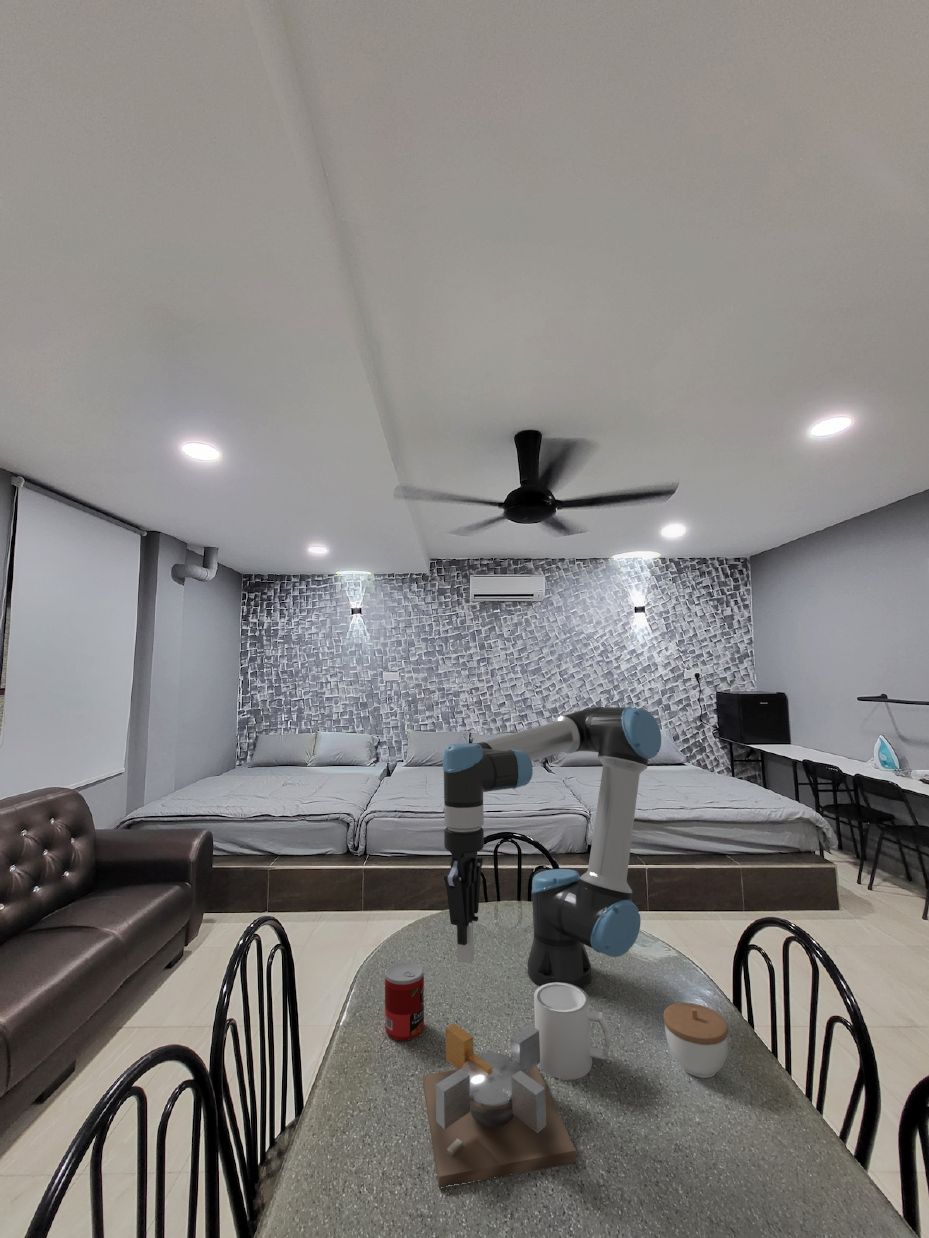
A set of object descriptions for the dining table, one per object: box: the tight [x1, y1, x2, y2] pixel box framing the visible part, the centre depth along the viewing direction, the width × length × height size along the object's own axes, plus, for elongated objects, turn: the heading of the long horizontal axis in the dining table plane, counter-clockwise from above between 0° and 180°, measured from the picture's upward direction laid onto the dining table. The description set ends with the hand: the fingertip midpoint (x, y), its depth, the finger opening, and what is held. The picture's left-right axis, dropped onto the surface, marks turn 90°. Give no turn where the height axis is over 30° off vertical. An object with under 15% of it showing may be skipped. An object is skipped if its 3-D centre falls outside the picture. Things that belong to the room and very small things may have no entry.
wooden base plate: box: [422, 1065, 577, 1189], centre depth 85 cm, size 20×20×4 cm
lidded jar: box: [663, 1002, 729, 1079], centre depth 97 cm, size 11×11×9 cm
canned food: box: [384, 961, 425, 1042], centre depth 109 cm, size 8×8×11 cm
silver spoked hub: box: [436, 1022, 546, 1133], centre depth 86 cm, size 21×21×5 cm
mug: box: [533, 982, 611, 1081], centre depth 98 cm, size 14×10×11 cm
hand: (465, 960), depth 98 cm, fingers closed
